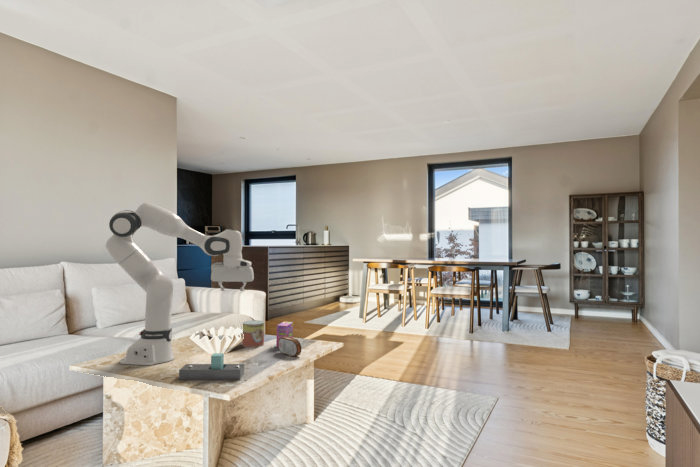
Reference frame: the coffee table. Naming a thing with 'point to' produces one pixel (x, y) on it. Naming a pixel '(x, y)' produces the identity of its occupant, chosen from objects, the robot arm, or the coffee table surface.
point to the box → (284, 331)
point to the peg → (217, 361)
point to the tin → (289, 346)
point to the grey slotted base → (211, 372)
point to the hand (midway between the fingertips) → (232, 290)
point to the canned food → (253, 333)
